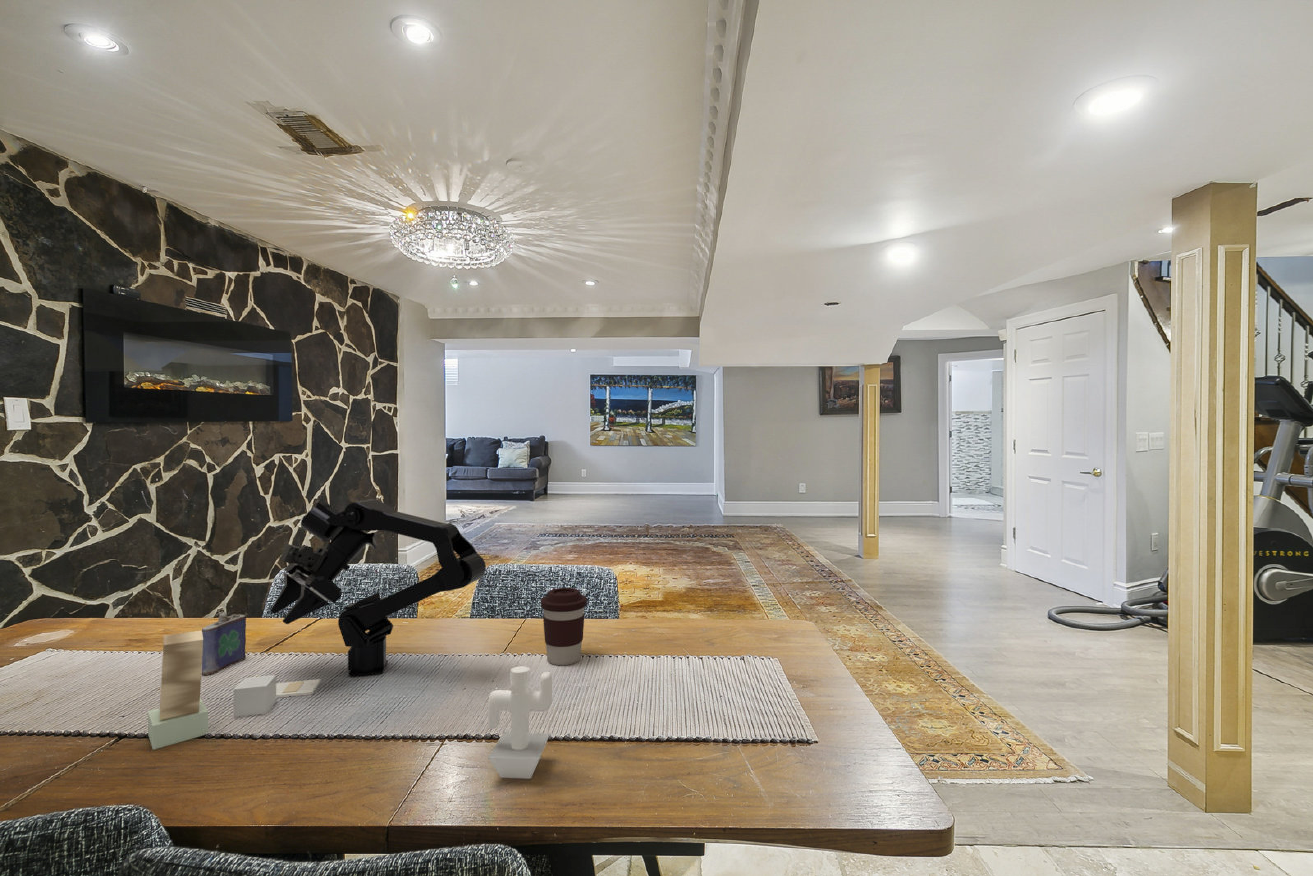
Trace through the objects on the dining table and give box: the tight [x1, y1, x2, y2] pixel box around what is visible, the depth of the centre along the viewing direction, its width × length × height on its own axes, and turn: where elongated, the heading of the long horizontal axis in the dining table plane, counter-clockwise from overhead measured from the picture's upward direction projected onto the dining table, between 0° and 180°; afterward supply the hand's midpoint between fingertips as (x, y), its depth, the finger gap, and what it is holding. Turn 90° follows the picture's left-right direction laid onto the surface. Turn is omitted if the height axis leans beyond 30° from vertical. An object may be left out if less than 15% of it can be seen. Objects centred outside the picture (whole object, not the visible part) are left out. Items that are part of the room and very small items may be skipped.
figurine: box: [487, 665, 553, 780], centre depth 88 cm, size 7×9×15 cm
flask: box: [201, 611, 247, 676], centre depth 127 cm, size 10×3×12 cm, turn 172°
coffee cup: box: [540, 587, 588, 666], centre depth 130 cm, size 10×10×15 cm
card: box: [276, 678, 322, 699], centre depth 115 cm, size 8×6×1 cm
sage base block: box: [147, 697, 209, 750], centre depth 98 cm, size 7×7×4 cm
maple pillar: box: [159, 630, 203, 720], centre depth 98 cm, size 5×5×12 cm
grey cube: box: [233, 674, 277, 718], centre depth 107 cm, size 5×5×5 cm
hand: (278, 617), depth 116 cm, fingers open, 9 cm apart
